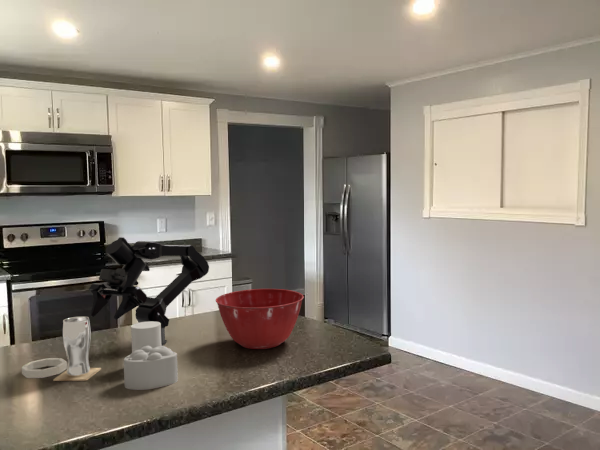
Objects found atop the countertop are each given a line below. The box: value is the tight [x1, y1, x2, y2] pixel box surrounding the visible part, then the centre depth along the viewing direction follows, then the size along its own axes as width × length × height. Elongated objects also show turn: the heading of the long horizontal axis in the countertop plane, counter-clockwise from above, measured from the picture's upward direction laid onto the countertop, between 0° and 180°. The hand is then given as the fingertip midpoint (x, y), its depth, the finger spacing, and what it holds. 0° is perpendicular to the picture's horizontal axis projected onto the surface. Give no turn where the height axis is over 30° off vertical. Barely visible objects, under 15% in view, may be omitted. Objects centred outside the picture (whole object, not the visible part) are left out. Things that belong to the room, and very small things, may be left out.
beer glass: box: [62, 316, 92, 377], centre depth 141 cm, size 7×7×15 cm
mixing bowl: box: [215, 288, 305, 350], centre depth 167 cm, size 28×28×15 cm
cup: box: [130, 321, 162, 353], centre depth 147 cm, size 8×8×12 cm
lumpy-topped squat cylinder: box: [123, 345, 179, 391], centre depth 134 cm, size 10×13×9 cm
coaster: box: [52, 367, 102, 382], centre depth 141 cm, size 9×9×1 cm
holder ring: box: [21, 357, 68, 379], centre depth 144 cm, size 11×11×2 cm
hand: (103, 317), depth 150 cm, fingers open, 9 cm apart
